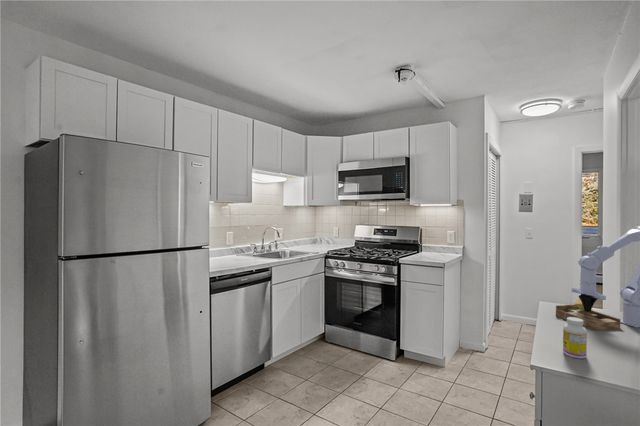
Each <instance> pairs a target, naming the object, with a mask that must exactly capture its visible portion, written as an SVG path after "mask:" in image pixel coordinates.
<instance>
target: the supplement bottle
mask: <svg viewBox="0 0 640 426" xmlns="http://www.w3.org/2000/svg"><path fill="white" fill-rule="evenodd" d="M562 329H563V332H562V333H563V334H562V335H563V336H562V351H563V354H564V355H566V356H568V357H570V358H574V359H581V360H582V359H586V358H587V351H588V347H587V345H588V343H587V342H588V339H587V338H588V330H587V328H586V327H585V326H583V320H582V319H579V318H575V317H567V320H566V323H565V324H564V325H563V328H562Z"/></svg>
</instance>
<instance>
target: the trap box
mask: <svg viewBox="0 0 640 426" xmlns="http://www.w3.org/2000/svg"><path fill="white" fill-rule="evenodd" d="M555 316H556V317H558V318H560V319H564V320H566V321H567V317H575V318H579V319H582V320H583V327H584V328H586V329H587V328H588V329H590V330H593V331H603V330H604V331H606V330H616V329H621V322H620V320H621V318H618V317H615V316H612V315H610V314H605V313H602V312H599V311H597V310H593V309H591V312H586V311H585V310H580V309H579V308H578V307H577V306H576V305H575V303H574V304H559V305H558V304H557V305H555Z"/></svg>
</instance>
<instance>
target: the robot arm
mask: <svg viewBox="0 0 640 426" xmlns="http://www.w3.org/2000/svg"><path fill="white" fill-rule="evenodd" d="M634 242H640V225H638V226H634V228H631V229H629V230H628V231H627V232H626V233H624V234H622V235H621V236H620V237H618V238H617V239H616V240H614V241H613V242H611V243H610V244H608V245H601V246H600V245H599V246H597V247H596V248H597V249H594V250H592V251H591V252H588V253H587V255H583V256H581V257H580V258H579V260H578V265H579V266H580V273H579V274H580V278H579V279H580V280H579V281H580V283H579V285H580V286H579V288H577V287H572V288H571V293H577V294H579V295H578V299H579V298H580V300H581V302H582V304H583V307H584V310H585V311H586V312H591V310H593V307H594V305H595V303H596V301H598V300H600V301H606V299H607V296H606V295H605V294H601V293H599V292H597V269H599V267H600V265H601V264H602V263H604V262H605V261H607V260H609V259H611V258H612V257H614V256H615V252H616V251H618V250H620V249H622V248H624V247H625V246H628V245H629V244H631V243H634ZM619 295H620V297H621V298H622V299H623V300H622V319H620V324H624V325H628V326H630V327H633V328H640V263H639V264H638V267H637V268H636V271H635V273H634V274H633V277H632V279H631V281H628V283H627V282H626V285H625V287H623V288H622V289H621V290H620V292H619Z"/></svg>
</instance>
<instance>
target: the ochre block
mask: <svg viewBox="0 0 640 426" xmlns="http://www.w3.org/2000/svg"><path fill="white" fill-rule="evenodd" d="M574 304H575V305H576V306H577V307H578V308H579V309H580V310H584V307H583V304H582V302H581V300H580V298H579V297H578V299H577V300H576V301H575V303H574Z"/></svg>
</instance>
